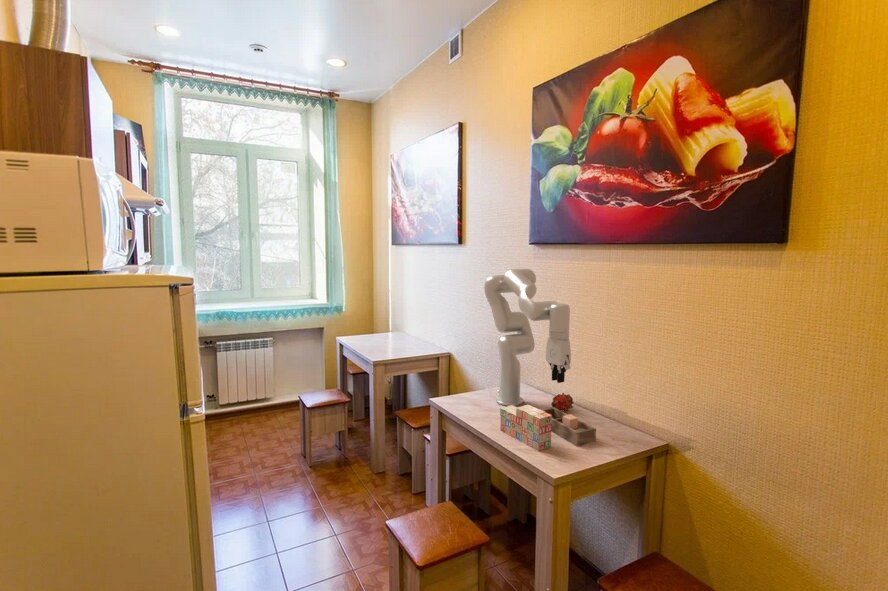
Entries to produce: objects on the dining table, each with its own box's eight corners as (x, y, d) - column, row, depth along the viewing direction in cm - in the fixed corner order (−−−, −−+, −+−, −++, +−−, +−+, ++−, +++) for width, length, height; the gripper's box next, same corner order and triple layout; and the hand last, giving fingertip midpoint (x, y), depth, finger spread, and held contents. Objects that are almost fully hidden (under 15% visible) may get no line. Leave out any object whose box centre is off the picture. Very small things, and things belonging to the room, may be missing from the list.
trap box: (536, 422, 179) (536, 410, 179) (553, 418, 183) (553, 407, 182) (576, 446, 158) (577, 433, 157) (595, 441, 161) (596, 428, 161)
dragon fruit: (573, 412, 195) (554, 421, 189) (561, 397, 200) (542, 405, 194) (581, 401, 189) (562, 410, 183) (568, 386, 194) (549, 394, 188)
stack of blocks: (499, 430, 172) (500, 400, 171) (511, 427, 175) (512, 397, 174) (538, 451, 154) (539, 418, 153) (551, 447, 157) (552, 414, 156)
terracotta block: (562, 426, 168) (562, 416, 168) (570, 424, 170) (570, 414, 170) (569, 429, 165) (569, 419, 164) (577, 428, 166) (577, 417, 166)
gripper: (538, 332, 176) (537, 377, 178) (565, 340, 162) (564, 388, 163) (553, 331, 179) (552, 374, 181) (581, 338, 165) (579, 385, 167)
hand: (558, 380), depth 172 cm, fingers open, 2 cm apart
